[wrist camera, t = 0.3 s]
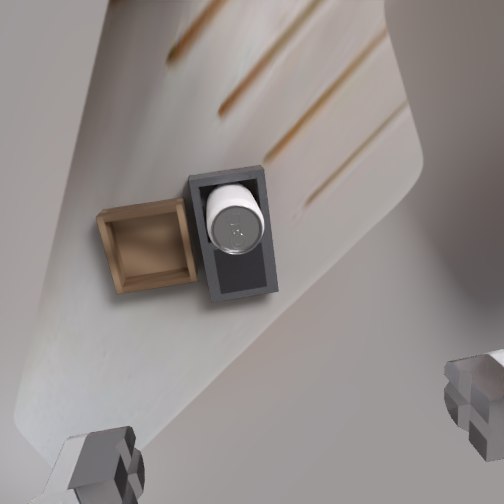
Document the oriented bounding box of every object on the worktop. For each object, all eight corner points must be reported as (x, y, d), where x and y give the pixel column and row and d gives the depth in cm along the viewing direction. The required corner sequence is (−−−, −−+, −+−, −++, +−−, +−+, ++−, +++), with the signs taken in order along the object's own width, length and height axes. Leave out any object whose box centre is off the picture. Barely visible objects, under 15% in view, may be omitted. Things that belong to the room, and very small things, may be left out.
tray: (189, 175, 53) (188, 180, 50) (260, 165, 54) (264, 169, 50) (211, 291, 59) (211, 303, 56) (274, 281, 60) (278, 291, 56)
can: (213, 232, 56) (215, 264, 45) (200, 187, 54) (199, 209, 43) (258, 221, 56) (272, 250, 45) (248, 175, 54) (259, 194, 43)
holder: (103, 209, 53) (95, 217, 50) (183, 197, 54) (182, 204, 50) (122, 282, 57) (117, 294, 54) (197, 270, 58) (197, 281, 54)
